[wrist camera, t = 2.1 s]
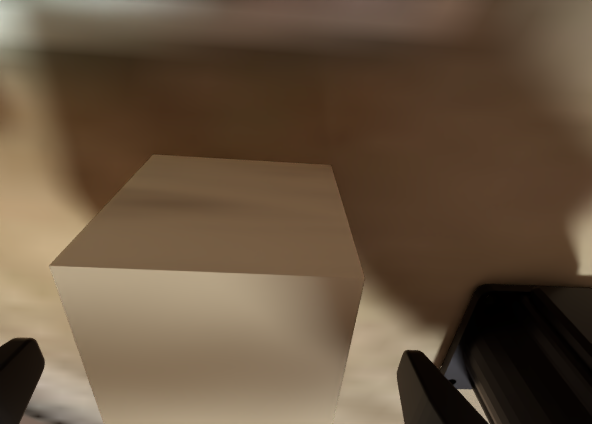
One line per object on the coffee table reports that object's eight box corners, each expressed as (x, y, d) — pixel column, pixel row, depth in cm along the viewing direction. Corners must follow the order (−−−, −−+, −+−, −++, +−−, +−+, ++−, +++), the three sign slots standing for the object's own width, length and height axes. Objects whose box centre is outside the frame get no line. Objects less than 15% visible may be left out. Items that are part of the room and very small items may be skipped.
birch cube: (313, 294, 15) (328, 442, 10) (172, 288, 15) (109, 440, 9) (330, 163, 12) (365, 278, 7) (153, 153, 12) (48, 265, 7)
